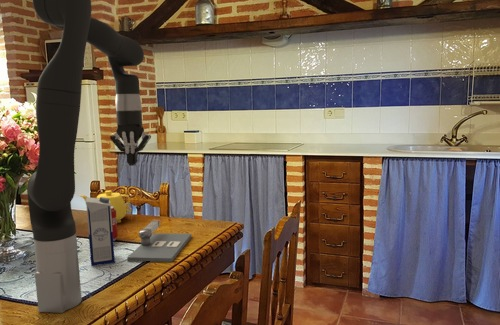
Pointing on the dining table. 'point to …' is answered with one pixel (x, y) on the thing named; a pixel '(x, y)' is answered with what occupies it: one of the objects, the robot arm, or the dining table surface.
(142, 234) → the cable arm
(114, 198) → the teapot
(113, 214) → the beverage can
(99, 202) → the milk carton
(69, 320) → the dining table surface
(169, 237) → the panel
